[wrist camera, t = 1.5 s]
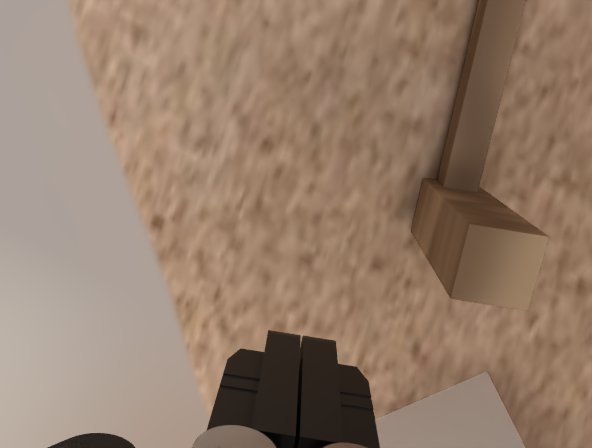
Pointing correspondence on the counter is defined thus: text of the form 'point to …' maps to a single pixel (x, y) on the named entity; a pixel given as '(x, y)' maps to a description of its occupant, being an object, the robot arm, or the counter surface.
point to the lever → (466, 178)
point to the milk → (452, 420)
